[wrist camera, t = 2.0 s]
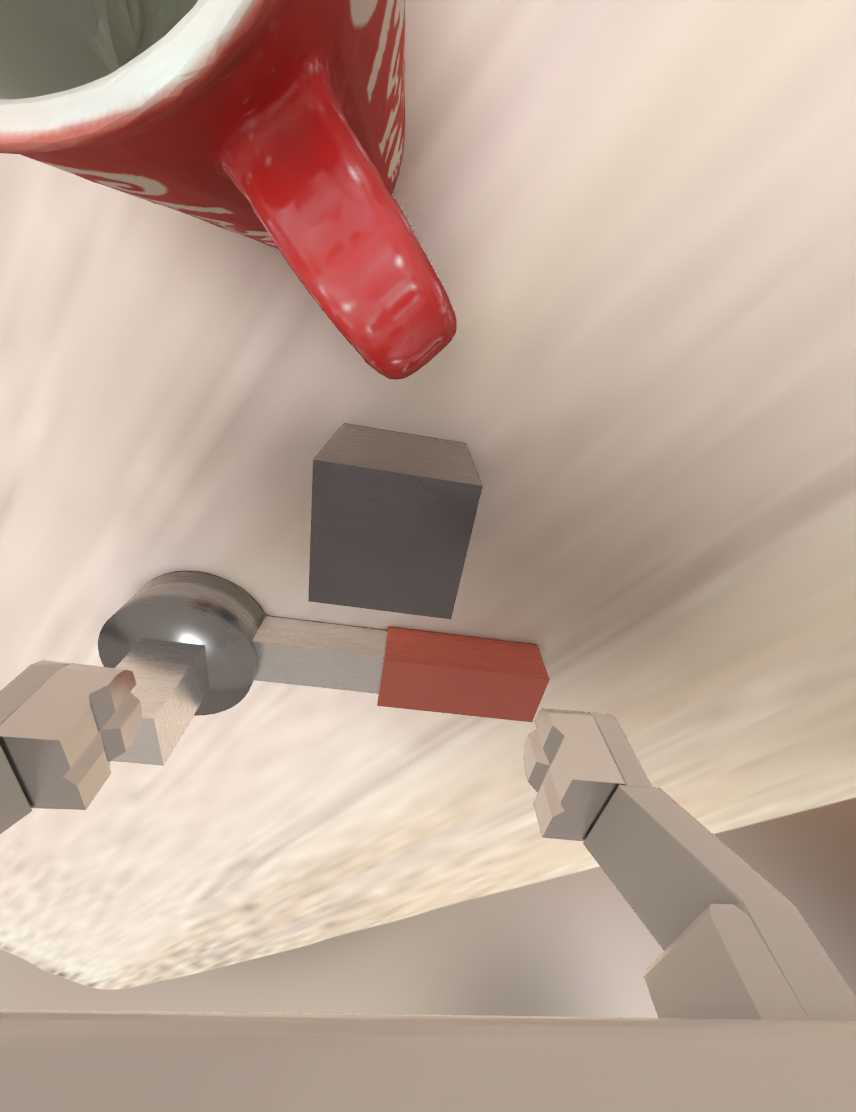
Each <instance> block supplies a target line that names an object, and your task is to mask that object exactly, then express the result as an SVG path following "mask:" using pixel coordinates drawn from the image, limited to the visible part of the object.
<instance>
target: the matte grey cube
mask: <svg viewBox="0 0 856 1112" xmlns="http://www.w3.org/2000/svg"><path fill="white" fill-rule="evenodd" d="M481 490H482V484H481V481H480V478H479V476H478V473H477V471H476V468H475V466H474V463H473V460H472V458H471V455H470V453H469V450H468V447H467V445H466V443H461V442H455V441H449V440H443V439H437V438H431V437H425V436H419V435H413V434H407V433H401V432H395V431H389V430H382V429H376V428H370V427H364V426H358V425H352V424H346V423H344V424H343V425H342V426H341V427H340V429H339V430H338V431H337V432H336V433H335V435H334V436H333V437H332V438H331V439H330V440H329V442H328V443H327V444H326V445H325V446H324V448H323V449H322V450H321V451H320V452H319V453H318V455H317V456H316V457H315V458H314V459H313V486H312V515H311V544H310V573H309V601H312V602H320V603H327V604H335V605H343V606H351V607H359V608H367V609H375V610H383V611H391V612H399V613H407V614H414V615H422V616H430V617H438V618H446V619H451V616H452V612H453V608H454V604H455V599H456V595H457V591H458V587H459V583H460V578H461V574H462V570H463V566H464V561H465V557H466V553H467V549H468V545H469V540H470V536H471V532H472V528H473V523H474V519H475V515H476V511H477V506H478V502H479V498H480V494H481Z"/></svg>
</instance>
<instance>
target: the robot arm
mask: <svg viewBox="0 0 856 1112" xmlns="http://www.w3.org/2000/svg"><path fill="white" fill-rule="evenodd" d="M135 686H136V681H135V677H134V674H133V672H132V671H129V670H124V669H116V668H108V667H99V666H91V665H82V664H74V663H62V662H53V661H45V660H42V661H39V662H37V663H34V664H32V665H30V666H29V667H28V668H27V669H25V670H24V671H23V672H22V673H21V674H20V675H18V676H17V677H16V678H15V679H14V680H13V681H11V682H10V683H9V684H8V685H7V686H6V687H5V688H3V689H2V690H1V691H0V834H1V833H2V832H4V831H5V830H6V829H8V828H9V827H10V826H12V825H13V824H15V823H16V822H17V821H19V820H20V819H22V818H23V817H24V816H26V815H27V814H28V813H30V812H31V811H32V809H31V808H49V809H80V810H86V809H87V807H88V806H89V805H90V803H91V802H92V800H93V799H94V797H95V796H96V794H97V793H98V792H99V790H100V789H101V787H102V786H103V784H104V783H105V781H106V780H107V779H108V777H109V776H110V774H111V770H110V761H112V760H113V759H115V758H116V757H118V756H120V755H121V754H123V753H124V752H126V751H127V749H128V748H129V746H130V745H131V743H132V742H133V740H134V739H135V737H136V734H137V731H138V729H139V726H140V723H141V718H142V707H141V702H140V700H139V699H138V698H136V697H135V696H134V695H133V694H132V693H131V691H132V689H133V688H134V687H135ZM535 723H536V727H537V730H535V731H534V732H532V733H531V734H529V735H528V738H527V741H526V744H525V750H524V765H525V772H526V776H527V780H528V782H529V783H530V785H531V786H532V787H533V788H534V789H535V790H536V791H537V792H538V793H537V796H536V798H535V800H534V802H533V804H534V808H535V812H536V816H537V819H538V823H539V827H540V831H541V835H542V837H544V838H555V839H565V840H576V841H584V843H583V844H584V845H585V847H586V848H587V849H588V851H589V852H590V853H591V855H592V856H593V857H594V859H595V860H596V861H597V863H598V864H599V865H600V866H601V868H602V869H603V870H604V872H605V873H606V874H607V876H608V877H609V878H610V880H611V881H612V882H613V883H614V885H615V886H616V888H617V889H618V890H619V892H620V893H621V894H622V896H623V897H624V898H625V900H626V901H627V902H628V904H629V905H630V906H631V907H632V909H633V910H634V912H635V913H636V914H637V915H638V917H639V918H640V919H641V921H642V922H643V923H644V925H645V926H646V927H647V929H648V930H649V931H650V933H651V934H652V935H653V936H654V938H655V939H656V941H657V942H658V943H659V944H660V946H661V947H662V948H663V950H664V952H663V953H662V954H661V955H660V956H659V957H658V958H657V959H656V960H655V961H654V962H653V963H652V964H651V965H650V966H649V967H648V968H647V971H646V973H645V975H644V978H645V981H646V983H647V987H648V989H649V992H650V995H651V998H652V1001H653V1004H654V1006H655V1009H656V1012H657V1015H658V1018H622V1017H548V1016H543V1017H542V1016H475V1015H474V1016H473V1015H401V1014H399V1015H398V1014H395V1015H394V1014H327V1013H326V1014H325V1013H324V1014H323V1013H322V1014H321V1013H253V1012H250V1013H249V1012H179V1011H178V1012H177V1011H103V1010H33V1009H32V1010H31V1009H0V1112H856V997H855V996H854V995H853V993H852V991H851V990H850V988H849V987H848V985H847V984H846V982H845V981H844V979H843V978H842V977H841V975H840V973H839V972H838V970H837V969H836V967H835V966H834V964H833V963H832V961H831V960H830V958H829V957H828V955H827V954H826V952H825V951H824V949H823V948H822V946H821V945H820V943H819V942H818V940H817V939H816V937H815V936H814V934H813V933H812V931H811V930H810V928H809V927H808V925H807V924H806V922H805V921H804V919H803V918H802V916H801V915H800V913H799V911H798V910H797V908H796V907H795V906H794V905H793V904H792V903H791V902H790V901H789V900H788V899H787V898H785V897H784V896H783V895H782V894H781V893H779V892H778V891H777V890H776V889H775V888H774V887H773V886H772V885H770V884H769V883H768V882H767V881H766V880H765V879H763V878H762V877H761V876H760V875H759V874H758V873H757V872H755V871H754V870H753V869H752V868H751V867H750V866H749V865H747V864H746V863H745V862H744V861H743V860H742V859H741V858H740V857H738V856H737V855H736V854H735V853H734V852H732V851H731V850H730V849H729V848H728V847H727V846H726V845H725V844H723V843H722V842H721V841H720V840H719V839H718V838H716V837H715V836H714V835H713V834H712V833H711V832H710V831H709V830H707V829H706V828H705V827H704V826H703V825H702V824H701V823H699V822H698V821H697V820H696V819H695V818H694V817H692V816H691V815H690V814H689V813H688V812H687V811H686V810H684V809H683V808H682V807H681V806H680V805H679V804H678V803H676V802H675V801H674V800H673V799H672V798H671V797H670V796H668V795H667V794H666V793H665V792H664V791H663V790H662V789H660V788H655V787H652V785H651V783H650V781H649V779H648V778H647V776H646V774H645V772H644V770H643V768H642V766H641V764H640V763H639V761H638V759H637V757H636V755H635V753H634V751H633V749H632V747H631V746H630V744H629V742H628V740H627V738H626V736H625V734H624V732H623V731H622V729H621V727H620V725H619V723H618V721H617V720H616V718H615V717H614V716H612V715H611V714H602V713H591V712H588V713H586V712H581V711H569V710H556V709H544V708H542V709H541V710H540V711H539V712H538V714H537V716H536V718H535Z"/></svg>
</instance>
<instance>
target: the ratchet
mask: <svg viewBox="0 0 856 1112" xmlns="http://www.w3.org/2000/svg"><path fill="white" fill-rule="evenodd" d="M98 650H99V655H100V658H101V661H102V663H103V665H104V667H108V668H116V669H124V670H129V671H132V672H133V674H134V677H135V681H136V686H135V687H134V688H133V689H132V691H131V693H132V694H133V695H134V696H135V697H136V698H138V699H139V700H140V702H141V707H142V718H141V723H140V726H139V729H138V731H137V734H136V737H135V739H134V740H133V742H132V743H131V745H130V746H129V748H128V749H127V751H126V752H124V753H123V754H121V755H120V756H118V757H116V758H115V759H113V760H112V761H119V762H130V763H141V764H152V765H164V764H165V763H166V761H167V759H168V758H169V756H170V754H171V753H172V751H173V749H174V748H175V746H176V744H177V743H178V741H179V739H180V738H181V736H182V734H183V733H184V731H185V729H186V727H187V726H188V724H189V722H190V721H191V719H192V717H193V716H194V715H208V714H214V713H218V712H222V711H224V710H227V709H229V708H231V707H233V706H235V705H236V704H237V703H239V702H240V701H241V700H242V699H243V698H244V697H245V696H246V694H247V693H248V691H249V689H250V687H251V685H252V683H253V681H254V680H258V681H267V682H277V683H286V684H295V685H304V686H313V687H323V688H332V689H341V690H350V691H359V692H369V693H378V694H379V696H378V704H377V706H386V707H395V708H404V709H414V710H423V711H433V712H442V713H452V714H461V715H470V716H480V717H489V718H499V719H508V720H518V721H527V722H532V721H533V718H534V716H535V713H536V711H537V708H538V706H539V704H540V701H541V699H542V696H543V694H544V691H545V689H546V687H547V684H548V682H549V677H548V674H547V671H546V668H545V666H544V663H543V660H542V657H541V655H540V652H539V649H538V647H537V645H533V644H525V643H517V642H509V641H501V640H492V639H484V638H476V637H468V636H460V635H452V634H444V633H436V632H427V631H419V630H411V629H403V628H395V627H388V630H387V631H386V630H378V629H370V628H361V627H353V626H345V625H337V624H329V623H320V622H312V621H304V620H296V619H288V618H280V617H271V616H266V615H265V613H264V612H263V610H262V608H261V607H260V606H259V604H258V603H257V602H256V601H255V600H254V599H253V598H252V597H251V596H250V595H249V594H248V593H246V592H245V591H244V590H243V589H241V588H240V587H238V586H236V585H235V584H233V583H231V582H229V581H227V580H225V579H223V578H220V577H217V576H214V575H211V574H207V573H202V572H194V571H178V572H172V573H168V574H164V575H161V576H159V577H157V578H155V579H153V580H152V581H150V582H149V583H148V584H147V585H145V586H144V587H143V588H142V589H141V590H140V591H139V592H138V593H137V594H136V595H135V596H134V597H132V598H131V599H130V600H129V601H128V602H127V603H126V604H125V605H124V606H123V607H122V608H120V609H119V610H118V611H117V612H116V613H115V614H114V615H113V616H112V617H111V618H110V619H109V620H108V621H107V622H106V623H105V624H104V626H103V627H102V630H101V632H100V634H99V639H98Z"/></svg>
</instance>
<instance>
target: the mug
mask: <svg viewBox="0 0 856 1112" xmlns="http://www.w3.org/2000/svg"><path fill="white" fill-rule="evenodd" d="M404 45H405V0H0V153H10V154H21V155H23V156H26V157H29V158H32V159H34V160H37V161H40V162H43V163H45V164H48V165H51V166H53V167H56V168H59V169H62V170H64V171H67V172H70V173H72V174H75V175H77V176H80V177H82V178H85V179H87V180H90V181H92V182H95V183H99V184H102V185H105V186H108V187H110V188H113V189H116V190H119V191H122V192H124V193H127V194H130V195H133V196H136V197H139V198H142V199H145V200H148V201H150V202H153V203H156V204H159V205H163V206H166V207H169V208H172V209H175V210H177V211H180V212H183V213H186V214H188V215H191V216H194V217H196V218H199V219H201V220H204V221H206V222H209V223H211V224H214V225H216V226H218V227H221V228H224V229H226V230H230V231H233V232H236V233H239V234H241V235H244V236H246V237H249V238H252V239H255V240H257V241H259V242H262V243H264V244H266V245H269V246H273V247H275V248H278V249H279V250H280V251H281V253H282V254H283V256H284V257H285V259H286V260H287V262H288V264H289V265H290V267H291V268H292V269H293V271H294V272H295V274H296V275H297V276H298V278H299V279H300V281H301V282H302V283H303V285H304V286H305V288H306V289H307V290H308V292H309V293H310V294H311V295H312V297H313V298H314V299H315V301H316V302H317V303H318V304H319V306H320V307H321V308H322V310H323V311H324V312H325V313H326V315H327V316H328V317H329V319H330V320H331V321H332V322H333V324H334V325H335V326H336V327H337V328H338V330H339V331H340V332H341V333H342V334H343V336H344V337H345V338H346V339H347V340H348V342H349V343H350V344H351V345H353V347H354V348H355V349H356V351H357V352H358V353H359V354H360V355H361V356H362V357H363V358H364V360H365V362H366V363H368V364H369V365H370V366H371V367H372V368H374V369H375V370H376V371H378V372H379V373H380V374H382V375H384V376H385V377H387V378H389V379H403V378H406V377H408V376H409V375H411V374H413V373H414V372H416V371H418V370H419V369H420V368H421V367H423V366H424V365H425V364H427V363H428V362H429V361H430V360H431V359H432V358H433V357H434V356H436V355H437V354H438V353H439V352H440V351H441V350H442V349H443V348H444V347H445V346H446V345H447V344H448V343H449V342H450V341H451V340H452V338H453V336H454V335H455V332H456V317H455V313H454V311H453V309H452V306H451V303H450V301H449V298H448V295H447V293H446V291H445V289H444V287H443V286H442V284H441V282H440V280H439V278H438V277H437V275H436V273H435V271H434V269H433V268H432V266H431V264H430V262H429V260H428V258H427V257H426V255H425V253H424V251H423V249H422V248H421V246H420V244H419V242H418V240H417V239H416V237H415V235H414V233H413V231H412V229H411V227H410V225H409V223H408V221H407V219H406V218H405V216H404V214H403V213H402V211H401V209H400V207H399V206H398V204H397V202H396V200H395V199H394V198H393V196H392V195H391V193H392V191H393V188H394V186H395V183H396V180H397V177H398V173H399V168H400V164H401V160H402V153H403V146H404V130H405V97H404V68H405V49H404Z"/></svg>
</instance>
